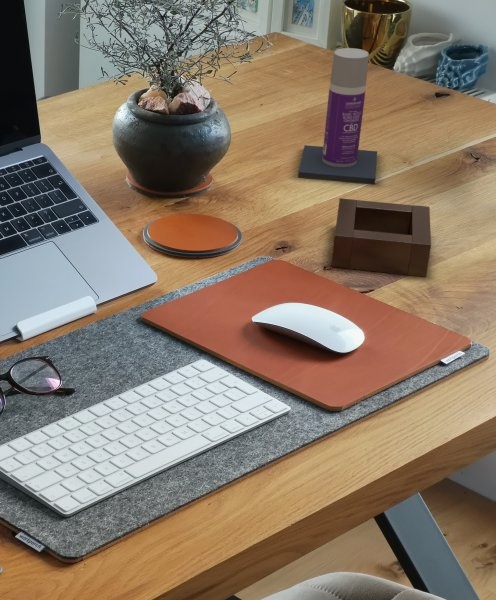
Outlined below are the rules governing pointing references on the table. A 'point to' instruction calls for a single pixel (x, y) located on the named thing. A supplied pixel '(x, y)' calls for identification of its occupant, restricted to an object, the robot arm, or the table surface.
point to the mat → (319, 170)
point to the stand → (382, 237)
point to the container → (345, 107)
